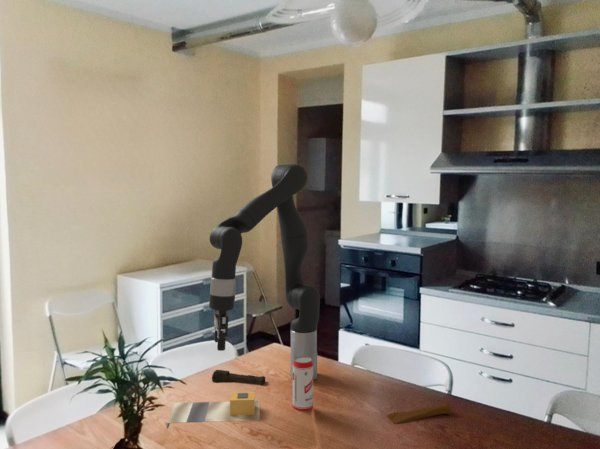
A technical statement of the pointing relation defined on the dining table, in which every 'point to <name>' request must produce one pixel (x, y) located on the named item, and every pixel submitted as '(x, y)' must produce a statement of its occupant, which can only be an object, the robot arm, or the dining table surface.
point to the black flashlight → (236, 378)
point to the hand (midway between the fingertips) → (219, 345)
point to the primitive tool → (419, 414)
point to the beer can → (303, 383)
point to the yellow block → (242, 403)
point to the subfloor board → (208, 412)
